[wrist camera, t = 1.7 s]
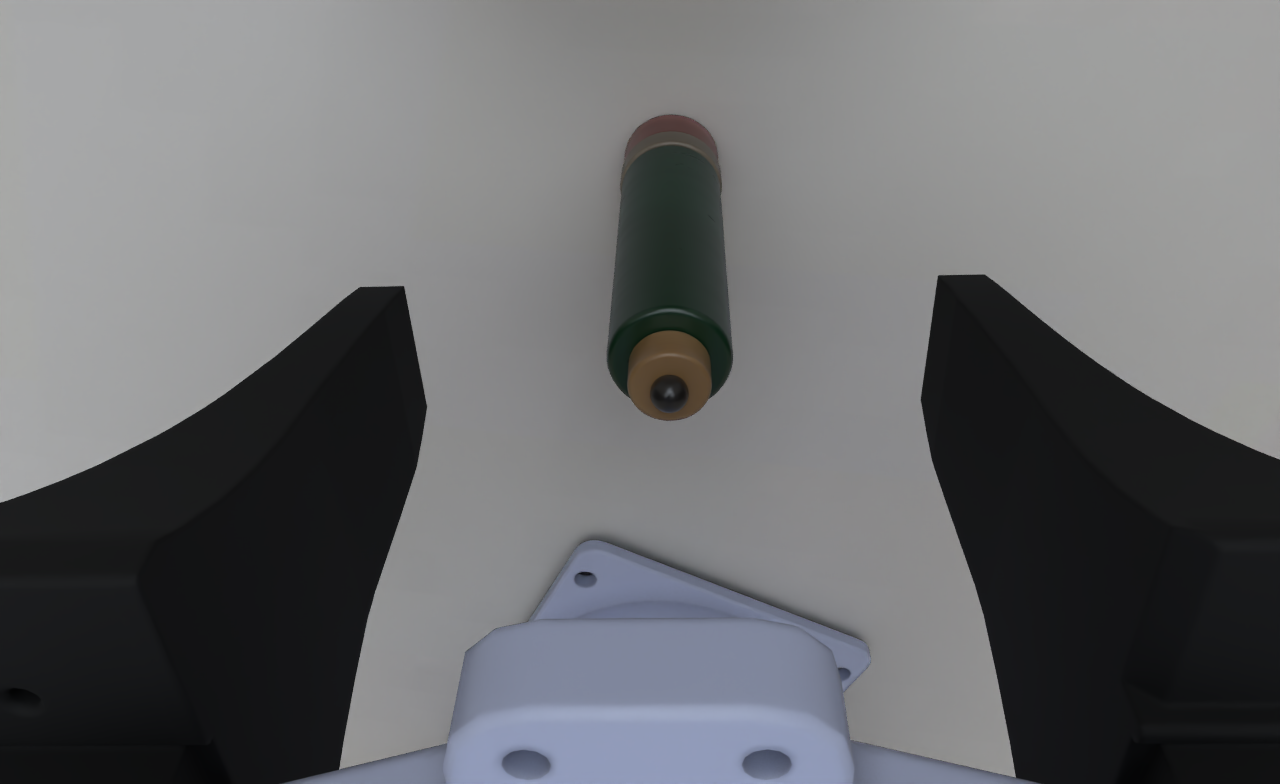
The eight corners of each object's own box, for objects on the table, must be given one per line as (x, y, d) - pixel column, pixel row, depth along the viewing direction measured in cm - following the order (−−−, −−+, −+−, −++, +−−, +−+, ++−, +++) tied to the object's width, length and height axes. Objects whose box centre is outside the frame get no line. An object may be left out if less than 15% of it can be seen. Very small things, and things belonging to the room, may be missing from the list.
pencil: (690, 217, 21) (697, 476, 15) (607, 177, 20) (577, 428, 14) (737, 138, 20) (764, 381, 14) (650, 95, 19) (639, 326, 13)
